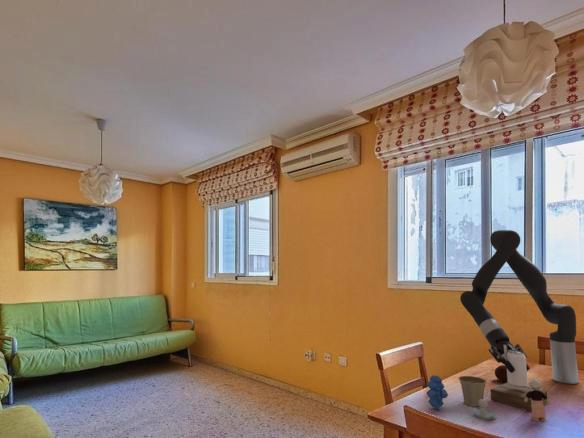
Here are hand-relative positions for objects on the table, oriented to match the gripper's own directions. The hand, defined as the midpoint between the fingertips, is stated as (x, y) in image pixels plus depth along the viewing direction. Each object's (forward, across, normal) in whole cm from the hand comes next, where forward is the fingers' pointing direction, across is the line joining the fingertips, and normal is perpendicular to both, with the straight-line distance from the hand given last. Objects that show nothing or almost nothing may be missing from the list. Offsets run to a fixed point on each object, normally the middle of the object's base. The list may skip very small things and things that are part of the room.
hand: (520, 370), depth 143 cm
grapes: (+6, -34, +10) cm, 36 cm away
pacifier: (+13, -24, +4) cm, 28 cm away
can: (+3, 0, +5) cm, 6 cm away
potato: (-8, +16, +25) cm, 30 cm away
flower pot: (+5, -18, +12) cm, 22 cm away
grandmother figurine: (+18, -8, -1) cm, 20 cm away
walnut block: (+7, 0, +9) cm, 12 cm away
